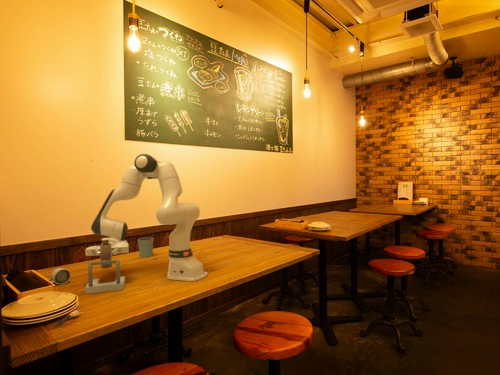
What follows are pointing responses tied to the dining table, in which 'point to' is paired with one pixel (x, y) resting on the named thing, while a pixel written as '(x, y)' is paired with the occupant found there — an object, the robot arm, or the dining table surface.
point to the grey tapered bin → (145, 247)
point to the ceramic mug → (60, 276)
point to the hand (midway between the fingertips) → (105, 253)
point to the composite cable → (69, 317)
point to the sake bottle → (105, 252)
